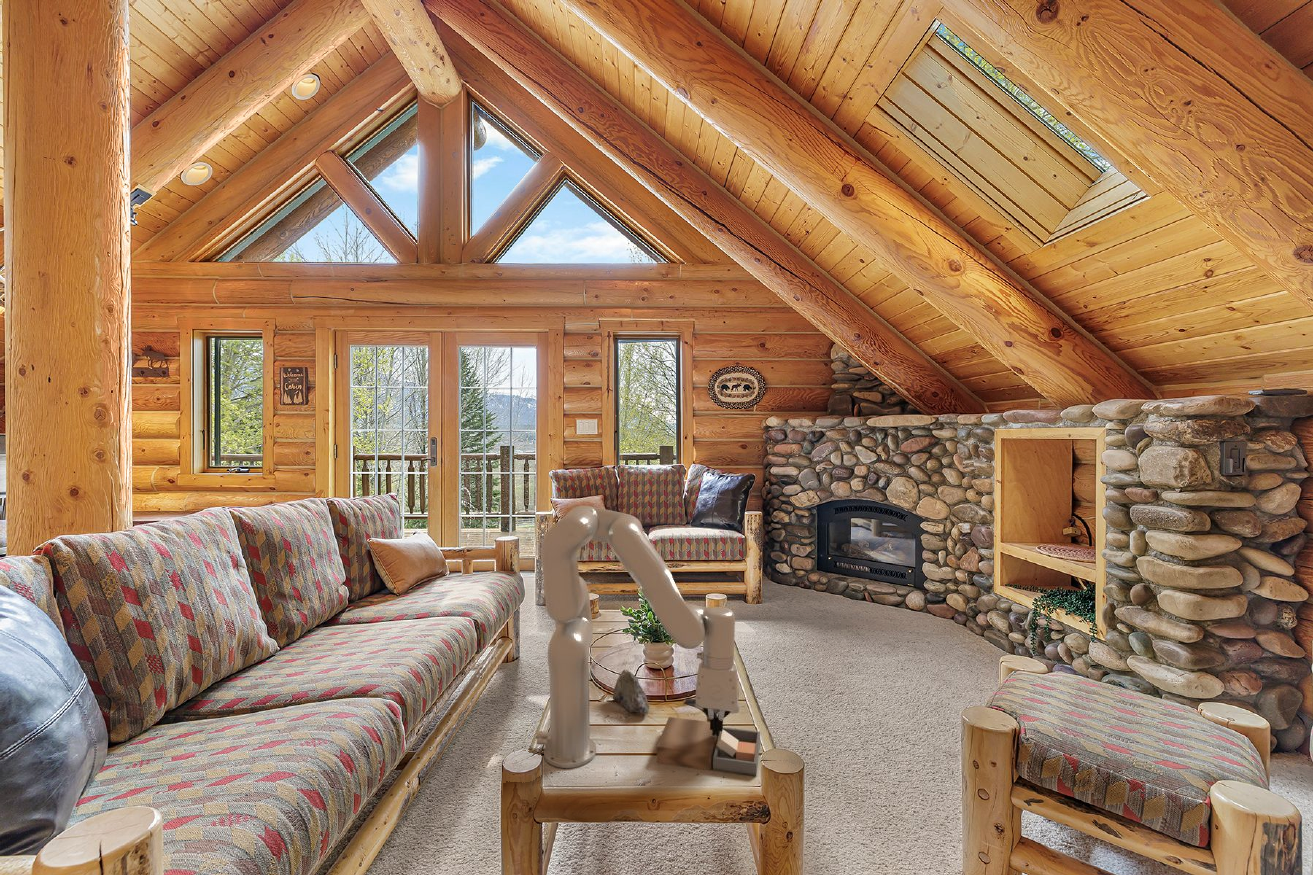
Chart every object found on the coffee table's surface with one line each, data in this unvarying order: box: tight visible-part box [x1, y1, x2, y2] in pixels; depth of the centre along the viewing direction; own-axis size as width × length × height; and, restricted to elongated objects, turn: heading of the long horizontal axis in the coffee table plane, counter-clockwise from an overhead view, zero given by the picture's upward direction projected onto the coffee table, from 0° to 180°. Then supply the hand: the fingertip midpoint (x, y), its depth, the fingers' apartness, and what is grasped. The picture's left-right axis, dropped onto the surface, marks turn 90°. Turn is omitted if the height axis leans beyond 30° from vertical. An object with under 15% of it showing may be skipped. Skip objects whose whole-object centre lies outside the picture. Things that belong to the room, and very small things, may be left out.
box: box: [712, 726, 761, 777], centre depth 148 cm, size 10×14×3 cm
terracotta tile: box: [736, 741, 756, 762], centre depth 147 cm, size 4×4×2 cm
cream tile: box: [716, 730, 738, 757], centre depth 148 cm, size 4×4×2 cm
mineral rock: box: [612, 669, 650, 715], centre depth 171 cm, size 13×11×10 cm
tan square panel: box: [656, 716, 718, 771], centre depth 150 cm, size 13×14×4 cm
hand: (716, 732), depth 148 cm, fingers closed
